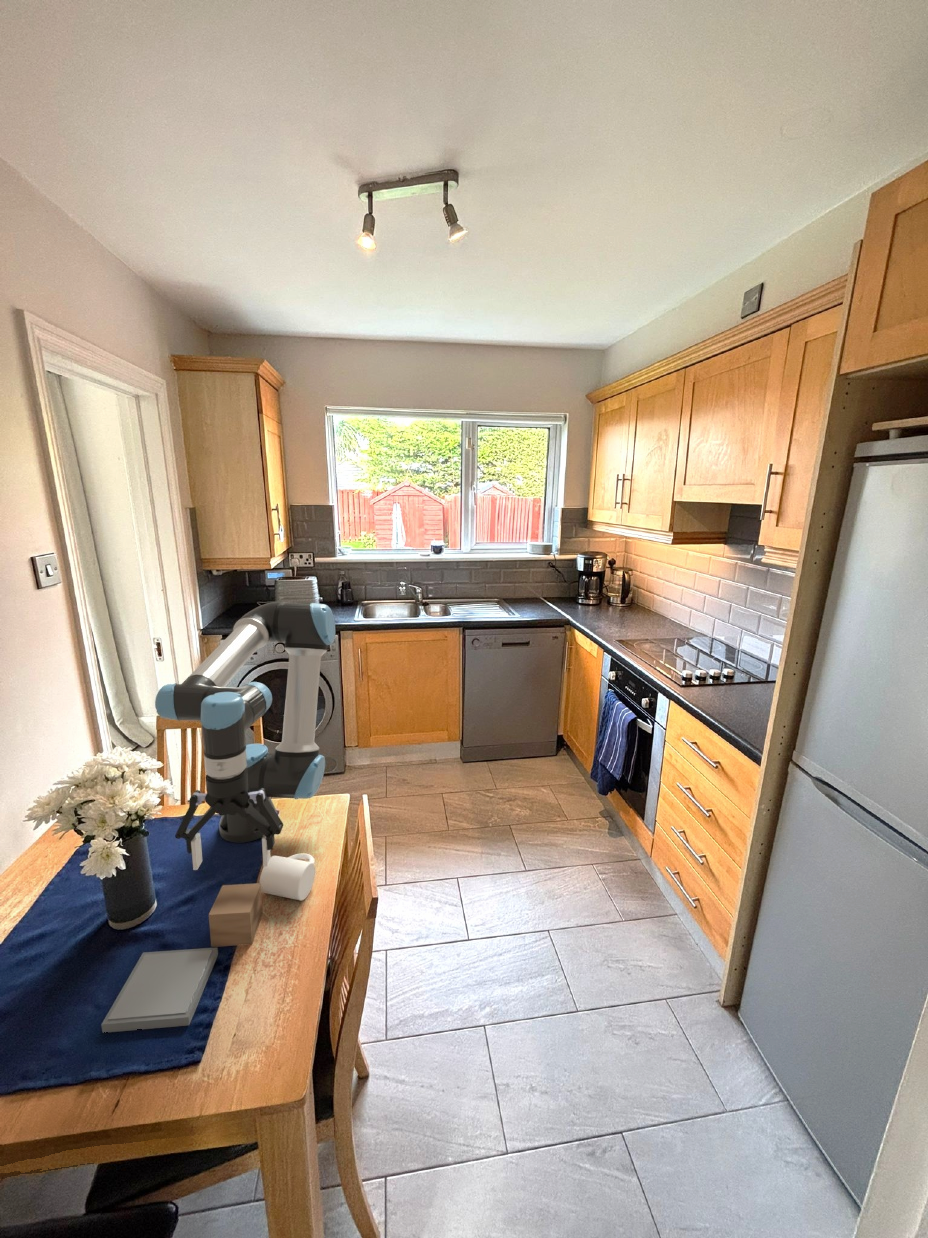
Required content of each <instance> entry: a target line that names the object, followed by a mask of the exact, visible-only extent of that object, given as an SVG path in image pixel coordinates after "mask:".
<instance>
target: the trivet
mask: <svg viewBox="0 0 928 1238" xmlns="http://www.w3.org/2000/svg"><path fill="white" fill-rule="evenodd" d="M218 955H219V949H218V947H204V948H192V949H187V948H186V949H176V950H175V949H173V950H161V951H148V952H147V951H146V952H145V951H144V952H142V953H141V955H140V957H139V959H138V960H137V962H136V964H135V965H134V968H133V969H132V971H131V973H130V974H129V976H128V978H127V980H126V981H125V983H124V985H123V986H122V988H121V989H120V992H119V993H118V995H117V996H116V999H115V1000H114V1002H113V1004H112V1005H111V1007H110V1009H109V1011H108V1012H107V1014H106V1016H105V1018H104V1019H103V1021H102V1023H101V1025H100V1026H101V1031H102V1034H105V1033H106V1032H108V1033H117V1032H126V1031H127V1032H129V1031H138V1030H137V1029H142V1030H150V1029H161V1028H172V1027H174V1028H176V1027H186V1026H190V1024H191V1022H192V1019H193V1017H194V1016H195V1012H196V1010H197V1007H198V1005H199V1002H200V1001H201V998H202V996H203V992H204V989H205V987H206V986H207V982H208V981H209V977H210V976H211V973H212V971H213V969H214V966H215V963H216V961H217V959H218ZM104 1032H105V1033H104ZM106 1034H107V1033H106Z"/></svg>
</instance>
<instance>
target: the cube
mask: <svg viewBox="0 0 928 1238" xmlns="http://www.w3.org/2000/svg"><path fill="white" fill-rule="evenodd" d="M262 901H263V900H262V892H261V883H258V882H257V883H244V884H243V883H239V884H223V885H222V886H221V887H220V890H219V892H218V894H217V896H216V898H215V901H214V903H213V905H212V907H211V909H210V911H209V913H208V922H209V936H210V948H216V947H230V946H231V947H233V946H245V945H246V946H247V945H249V946H250V945H252V944H253V942H254V940H255V936H256V933H257V931H258V927H259V925H260V922H261V919H262V915H263V902H262Z"/></svg>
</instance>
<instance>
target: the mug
mask: <svg viewBox="0 0 928 1238" xmlns="http://www.w3.org/2000/svg"><path fill="white" fill-rule="evenodd" d="M315 863H316V860H315V857H314V856H312V855H311V854H309V853H306V852H305V853H303V852H302V853H301V852H300V853H295V854H293V855H290V856H288V857H287V856H286V857H285V856H281V855H272V856H270V860H269V863H268V865H267V867H263V868H262V870H261V872H260V876H259V883H261V893H263V894H266V895H267V894H268V895H272V896H277V897H281V898H282V897H283V898H287V899H291V900H296V901H304V900H305V899H306V898H307V897H308V896H309V894H310V892H311V890H312V888H313V886H314V885H313V884H314V882H315V878H316V865H315Z"/></svg>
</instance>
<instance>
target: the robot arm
mask: <svg viewBox="0 0 928 1238" xmlns="http://www.w3.org/2000/svg"><path fill="white" fill-rule="evenodd" d="M333 614H334V613H333V611H332V609H331V607H330V606H329V605H327V604H325V603H317V602H301V601H299V602H298V601H296V602H294V601H272V602H268V603H265V604H262V605H261V604H260V605H259V606H257V607H255V608H253V609H252V610H250V611H248V612H247V613H245V614H244V615H242V617H240V618H239V619H238V620H236V622H235V624H234V625H233V627H232V632H231V633H229V634H228V636H227V637H226V638H225V639H224V640H223V641H222V642H221V643H220V644H219V645H218V646H217V647H216V648H215V649H214V650H213V651H212V652H211V653H210V654H209V655H208V656H207V658H205V660H203V661H202V663H200V664H199V666H198V667H196V669H195V670H194V671H193V672H191V674H190V675H189V676H188V677H187V678H185V679H184V681H183V682H182V683H179V684H178V683H172V684H171V683H170V684H169V683H168V684H165V685H163V686H162V687H161V688H160V689H159V690H158V692H157V694H156V696H155V700H154V707H155V710H156V714H157V715H158V716H159V718H162V719H166V720H174V721H179V722H181V721H187V722H188V721H189V722H191V721H192V722H193V721H194V722H200V724H201V733H202V734H201V735H202V743H203V759H204V771H205V787H206V788H205V789H206V793H203V792H201V790H198V789H197V790H195V791H193V794H192V795H191V797H190V798H189V806H188V809H187V811H186V813H185V815H184V817H183V819H182V820H181V823H180V825H179V826H178V828H177V831H176V833H175V834H174V837H175V838H176V839H178V840H179V839H184V840H185V841H186V842H185V843H186V852H187V854H189V855H190V854H191V857H192V868H193V869H192V870H193V871H198V869H199V867H200V866H201V864H202V862H203V852H202V851H203V849H202V848H203V847H202V839H201V832H199V831H200V830H201V829H202V828H204V826H205V825H206V824H207V823H208V822H209V820H211V818H213V817H214V816H215V814H218V815H219V816H221V817H220V821H219V823H218V824H219V825H218V826H219V827H218V828H219V834H220V837H221V838H222V839H223V840H224V841H226V842H227V841H228V842H231V843H236V844H237V843H242V844H243V843H247V842H248V843H249V842H253V841H256V840H259V839H261V844H262V845H261V847H262V866H263V868H264V867H267V865H268V863H269V860H270V858H271V850H273V849H274V846H275V835H278V836H279V835H280V834H281V833H282V830H283V828H284V822H283V821H282V819H281V818H280V817H279V815H278V812H277V808H276V807H275V804H274V802H273V800H272V798H280V799H281V798H282V799H294V800H299V799H301V800H303V799H304V800H305V799H306V800H307V799H312V798H313V797H314V796H315V795H316V794H317V793H318V790H319V788H320V786H321V784H322V782H323V778H324V774H325V771H326V770H325V769H326V759H325V756H324V755H322V754H320V747H319V746H318V744H317V743H316V742H315V736H316V735H315V734H316V724H317V723H316V722H317V711H318V710H317V709H318V697H319V689H320V688H319V684H320V674H321V673H320V672H321V661H322V657H323V655H325V653H327V652H328V646H330V645H333V644H334V642H335V638H336V623H335V617H334V615H333ZM268 643H284V651H286V652H287V654H288V656H289V657H288V668H287V679H286V680H287V681H286V691H285V703H284V714H283V724H282V736H281V737H282V738H281V742H280V743H279V744H278V745H277V746H276V747H275V749H274V751H275V752H269V749H268V746H266V745H265V744H263V743H248V744H246V743H247V742H246V740H247V739H246V738H247V737H246V731H248V729H250V727H252V725H254V724H255V723H256V722H257V721H259V719H261V718H262V717H263V716H264V715H265V714H266V713H267V711H268V710H269V708H271V705H272V703H273V695H272V692H271V690H270V689H269V688H268V686H267V685H265V684H264V683H261V682H257V681H251V682H249V683H246V684H245V683H244V685H242V686H239V687H238V686H227V685H228V684H229V683H230V682H231V681H232V679H234V677H235V676H236V675H237V673H239V671H240V670H241V669H242V668H243V667H244V665H245V664H247V661H248V660H249V659H250V658H251V657H252V656H253V654H254V653H255V652H256V651H257V650H259V649H261V648H263V647H265V646H266V645H267V644H268ZM204 801H205V803H206V804H207V805H208V806H209V808H208V809H207V811H206V812H204V814H203V815H202V816H201V817H200V818H199V819H198V820H197V821H196V823H195V824H194V825H193V826H191V828H188V827H189V825H190V823H191V821H192V819H193V817H194V816H195V814H196V811H197V810H198V807H199V805H202V803H203V802H204Z"/></svg>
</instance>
